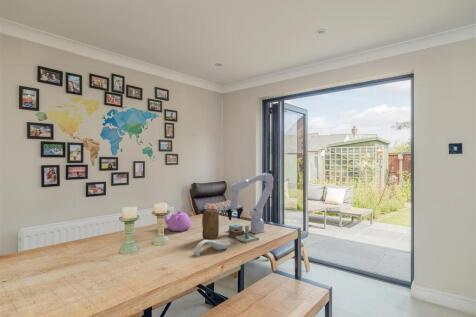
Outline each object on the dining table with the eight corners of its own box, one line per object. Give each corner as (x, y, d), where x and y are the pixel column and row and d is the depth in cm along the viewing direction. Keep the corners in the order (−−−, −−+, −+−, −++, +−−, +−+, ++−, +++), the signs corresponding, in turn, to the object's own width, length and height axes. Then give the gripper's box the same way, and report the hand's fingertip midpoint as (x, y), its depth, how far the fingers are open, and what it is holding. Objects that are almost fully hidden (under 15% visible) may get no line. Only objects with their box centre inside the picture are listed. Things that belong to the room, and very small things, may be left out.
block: (219, 241, 173) (220, 210, 172) (210, 243, 167) (211, 211, 167) (209, 237, 180) (209, 207, 180) (200, 239, 175) (200, 209, 175)
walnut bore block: (237, 233, 189) (237, 228, 189) (243, 236, 183) (244, 230, 183) (229, 235, 185) (229, 229, 185) (235, 238, 179) (235, 232, 179)
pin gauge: (246, 237, 180) (246, 225, 180) (249, 238, 178) (249, 226, 178) (244, 238, 178) (244, 226, 178) (247, 239, 176) (247, 227, 176)
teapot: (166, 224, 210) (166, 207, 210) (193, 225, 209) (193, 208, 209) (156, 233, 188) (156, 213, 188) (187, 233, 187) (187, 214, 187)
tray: (250, 235, 185) (250, 233, 185) (258, 239, 178) (258, 237, 178) (235, 238, 178) (235, 236, 178) (244, 242, 170) (244, 240, 170)
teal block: (235, 229, 201) (235, 223, 201) (242, 231, 196) (242, 225, 196) (228, 230, 196) (229, 225, 196) (235, 233, 191) (235, 227, 191)
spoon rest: (220, 243, 168) (220, 232, 168) (233, 248, 160) (234, 236, 160) (189, 253, 151) (190, 240, 151) (203, 259, 143) (203, 245, 143)
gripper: (239, 198, 199) (239, 216, 199) (223, 200, 190) (222, 219, 190) (245, 200, 193) (244, 218, 193) (228, 201, 184) (228, 221, 185)
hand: (234, 219), depth 191 cm, fingers open, 7 cm apart
